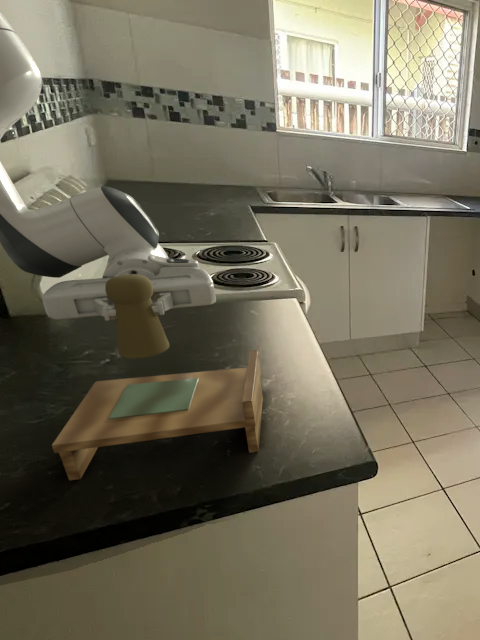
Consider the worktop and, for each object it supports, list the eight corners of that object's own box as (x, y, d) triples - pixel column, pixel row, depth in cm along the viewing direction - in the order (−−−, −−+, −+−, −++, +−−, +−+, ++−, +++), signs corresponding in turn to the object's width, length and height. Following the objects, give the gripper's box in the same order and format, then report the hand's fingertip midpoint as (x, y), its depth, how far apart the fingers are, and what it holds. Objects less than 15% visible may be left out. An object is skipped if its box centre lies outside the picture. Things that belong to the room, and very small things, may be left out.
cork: (122, 342, 70) (103, 271, 65) (171, 337, 73) (156, 269, 68) (114, 360, 65) (93, 285, 61) (167, 355, 68) (150, 282, 63)
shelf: (65, 483, 60) (43, 424, 56) (105, 414, 73) (90, 363, 69) (259, 453, 68) (251, 400, 65) (264, 396, 82) (258, 350, 78)
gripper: (45, 268, 69) (24, 299, 59) (208, 259, 80) (214, 284, 70) (58, 308, 72) (40, 345, 62) (214, 294, 83) (221, 323, 72)
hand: (134, 312), depth 66 cm, fingers closed on cork, 4 cm apart
